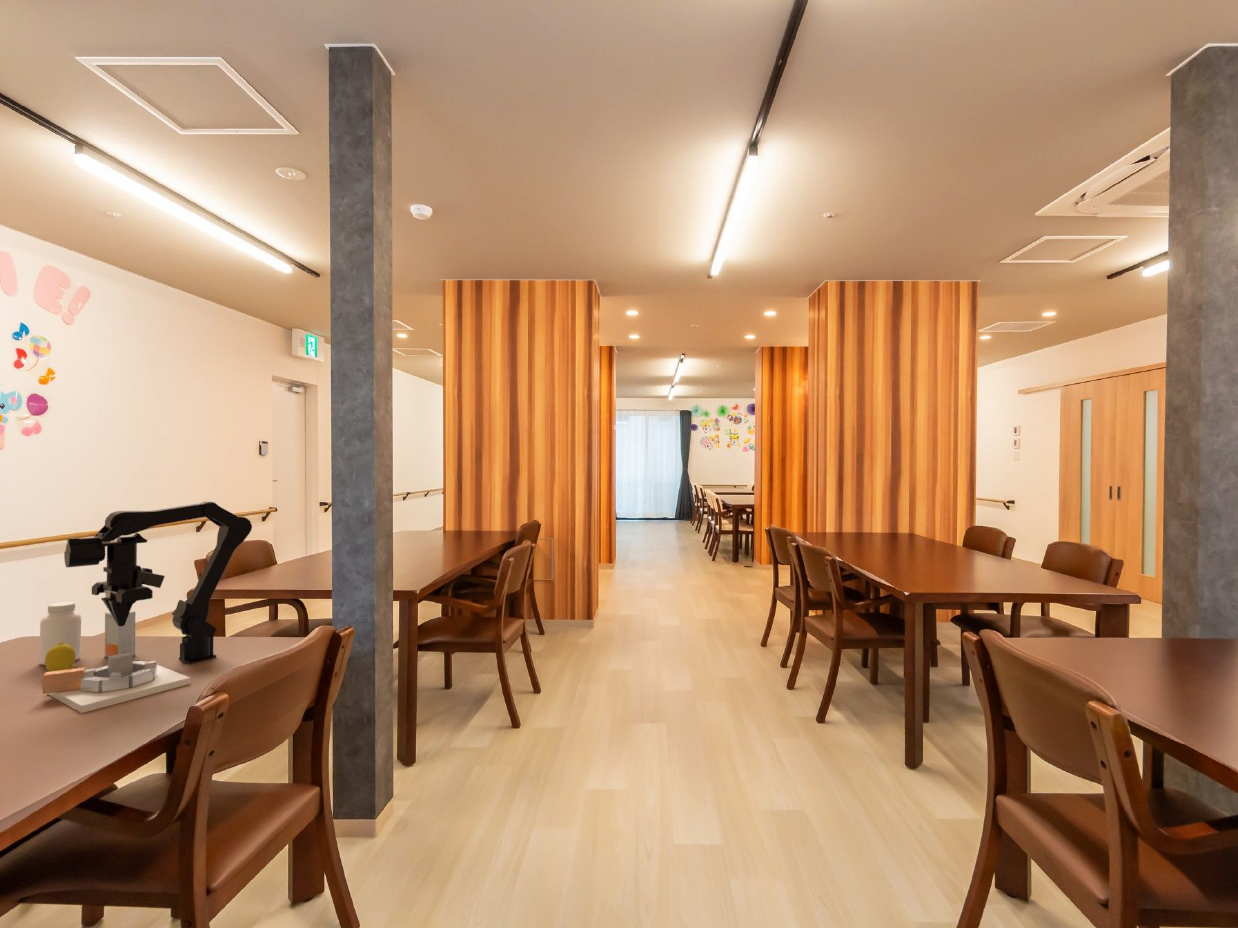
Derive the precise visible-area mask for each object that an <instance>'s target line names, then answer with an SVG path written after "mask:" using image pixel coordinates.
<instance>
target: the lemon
mask: <svg viewBox="0 0 1238 928" xmlns="http://www.w3.org/2000/svg"><path fill="white" fill-rule="evenodd" d="M75 659H76V655H75V651H74V649H73V647H72V646H70V645H68V644H64V643H59V644H58V645H55V646H54V647H52V648H51V649H50V650H49V651H48V652H47V655H46V658H45V665H44V666H45V668H46V669H47V672H52V671H60V670H67V669H73V667H74V665H75V663H76V660H75Z"/></svg>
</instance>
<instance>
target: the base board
mask: <svg viewBox="0 0 1238 928" xmlns="http://www.w3.org/2000/svg"><path fill="white" fill-rule="evenodd" d="M133 662H134V661H133V654H131V653H123V654H117V655H113V656H110V657H107V665H108V677H110V675H111V673H112V672H119V671H122V675H128V674H131V673H133ZM190 684H191V677H190V676H187V675H185V674H181V673H179V672H176V671H174V670H171V669H168V668H166V667H164V666H161V665H159V664H157V674H156V676H155V679H153V680H152V681H149V682H146V683H143V684H141V685H138V686H135V687H129V688H127V689H120V690H114V691H107V692H102V691H101V692H90V691H82V690H81V689H74V690H67V691H60V692H54V693H47V695H49V696H50V697H52V698H53V699H56V700H57V701H59V702H61V703H63V704H65V705H66V706H68V707H70V708H72V709H74V710H76V712H79V713H80V714H83V713H87V712H90V711H94V710H98V709H102V708H105V707H109V706H112V705H117V704H120V703H124V702H127V701H131V700H136V699H138V698H143V697H146V696H150V695H153V694H157V693H161V692H166V691H169V690H173V689H177V688H179V687H184V686H187V685H190Z"/></svg>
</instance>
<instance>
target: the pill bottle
mask: <svg viewBox="0 0 1238 928" xmlns="http://www.w3.org/2000/svg"><path fill="white" fill-rule="evenodd" d="M75 610H76V603H75V602H74V601H65V602H62V601H61V602H56V603H52V604H48V605H47V615H45V616H44V617H42V618H41V619H40V625H39V627H40V628H39V658H38V660H39V664H40V665H42V666H45V658H46V655H47V652H48V651H49V650H50V649H51V648H52V647H54V646H55V645H58V644H59V643H64V644H68V645H70V646H72V647H73V649H74V651H75V655H76V659H75V661H78V660H79V659H80V658H81V649H82V648H81V647H82V646H81V645H82V644H81V643H82V642H81V641H82V640H81V639H82V616H81V614H80V613H79V612H76V611H75Z"/></svg>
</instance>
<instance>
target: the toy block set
mask: <svg viewBox="0 0 1238 928" xmlns="http://www.w3.org/2000/svg"><path fill="white" fill-rule="evenodd" d="M157 665H158V663H157V660H149V661H146V660H145V661H144V660H140V661H137V660H136V661H133V673H131V674H128V675H122V671H119V672H112V673H111V675H110V677H108V664H107V665H105V666H101V667H98V668H96V667H95V668H86V666H85V667H84V666H83V667H78V668H77V667H76V668H71V669H67V670H60V671H52V672H49V671H47V672H44V674H43V675H42V695H45V694H47V693H54V692H60V691H67V690H74V689H81V690H82V691H90V692H101V691H102V692H107V691H114V690H120V689H127V688H129V687H135V686H138V685H141V684H143V683H146V682H149V681H152V680H153V679H155V676H156V674H157ZM47 695H48V694H47Z"/></svg>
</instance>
